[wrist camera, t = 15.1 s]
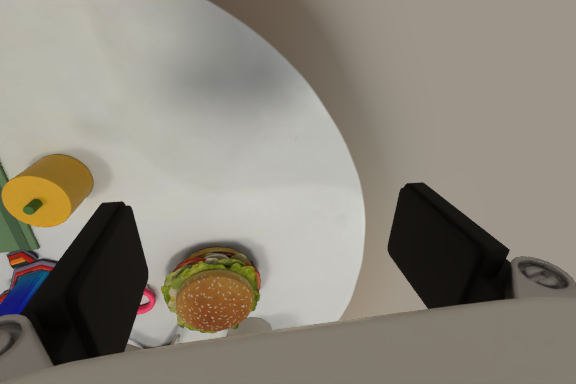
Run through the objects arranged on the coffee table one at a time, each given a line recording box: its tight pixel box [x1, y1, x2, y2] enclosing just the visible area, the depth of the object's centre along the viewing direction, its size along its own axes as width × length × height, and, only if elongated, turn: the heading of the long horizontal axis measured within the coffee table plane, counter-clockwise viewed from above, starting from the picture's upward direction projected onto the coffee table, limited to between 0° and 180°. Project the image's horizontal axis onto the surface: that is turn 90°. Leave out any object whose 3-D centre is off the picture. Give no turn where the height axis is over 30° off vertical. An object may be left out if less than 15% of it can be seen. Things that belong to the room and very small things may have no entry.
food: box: [161, 247, 261, 333], centre depth 44 cm, size 14×14×8 cm
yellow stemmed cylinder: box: [2, 155, 93, 227], centre depth 33 cm, size 6×6×8 cm
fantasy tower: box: [0, 249, 57, 316], centre depth 38 cm, size 12×12×12 cm
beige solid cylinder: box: [227, 318, 271, 337], centre depth 50 cm, size 8×8×12 cm
